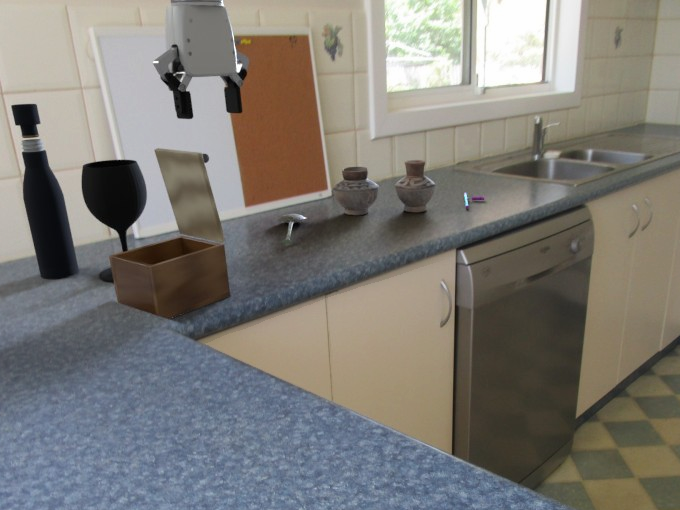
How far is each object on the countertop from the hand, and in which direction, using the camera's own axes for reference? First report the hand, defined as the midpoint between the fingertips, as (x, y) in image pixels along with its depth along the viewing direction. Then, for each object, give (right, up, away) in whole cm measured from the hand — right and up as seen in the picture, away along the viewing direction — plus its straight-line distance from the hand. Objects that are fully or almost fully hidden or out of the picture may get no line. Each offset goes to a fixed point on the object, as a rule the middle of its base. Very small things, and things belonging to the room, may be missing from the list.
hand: (210, 115), depth 104 cm
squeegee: (+49, -4, +66) cm, 83 cm away
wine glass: (-20, -24, +17) cm, 36 cm away
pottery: (+26, -8, +59) cm, 65 cm away
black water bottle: (-33, -24, +18) cm, 45 cm away
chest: (-6, -29, +2) cm, 30 cm away
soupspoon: (+6, -15, +41) cm, 44 cm away
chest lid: (-4, -13, +1) cm, 13 cm away
